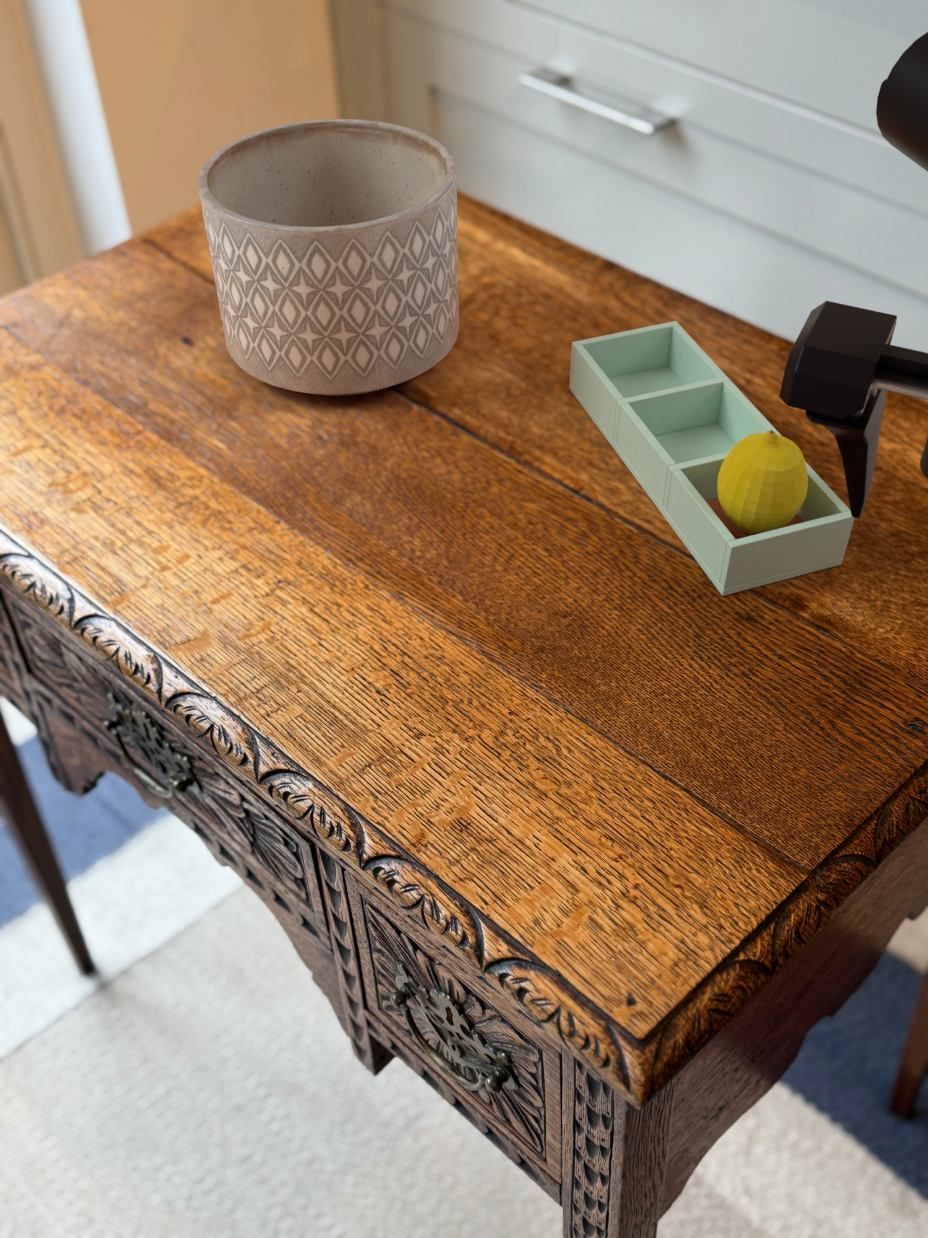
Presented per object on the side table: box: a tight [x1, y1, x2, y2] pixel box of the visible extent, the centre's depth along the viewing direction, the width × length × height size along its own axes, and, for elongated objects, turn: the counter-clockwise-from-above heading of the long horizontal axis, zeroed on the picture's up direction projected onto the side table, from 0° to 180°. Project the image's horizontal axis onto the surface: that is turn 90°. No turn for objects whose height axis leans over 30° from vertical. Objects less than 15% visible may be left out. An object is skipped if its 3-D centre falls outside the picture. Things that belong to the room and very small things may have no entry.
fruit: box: [717, 430, 808, 534], centre depth 74 cm, size 6×6×8 cm
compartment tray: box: [568, 320, 855, 597], centre depth 82 cm, size 25×9×4 cm, turn 19°
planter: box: [197, 118, 460, 397], centre depth 90 cm, size 19×19×14 cm
